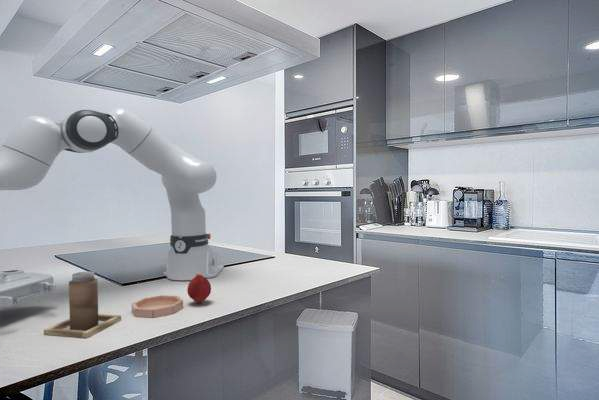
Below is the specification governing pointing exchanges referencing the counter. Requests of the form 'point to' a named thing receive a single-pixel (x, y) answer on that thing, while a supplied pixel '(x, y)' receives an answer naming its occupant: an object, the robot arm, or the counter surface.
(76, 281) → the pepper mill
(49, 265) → the counter surface
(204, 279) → the onion
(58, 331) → the holder frame
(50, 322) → the counter surface
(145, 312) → the dish
